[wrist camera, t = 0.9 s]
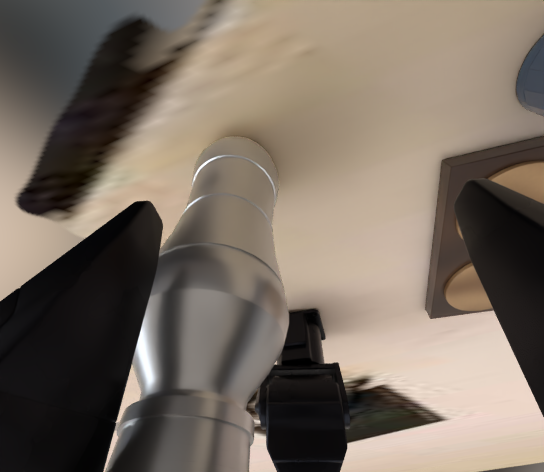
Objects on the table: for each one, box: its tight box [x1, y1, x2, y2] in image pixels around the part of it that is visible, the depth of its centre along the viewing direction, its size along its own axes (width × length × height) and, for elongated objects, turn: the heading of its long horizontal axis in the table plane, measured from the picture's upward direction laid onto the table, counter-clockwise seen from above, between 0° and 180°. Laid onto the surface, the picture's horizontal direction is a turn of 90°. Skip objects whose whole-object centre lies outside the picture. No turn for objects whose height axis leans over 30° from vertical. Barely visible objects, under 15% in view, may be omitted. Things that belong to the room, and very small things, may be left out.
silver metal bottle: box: [105, 136, 289, 472], centre depth 14 cm, size 6×7×20 cm
